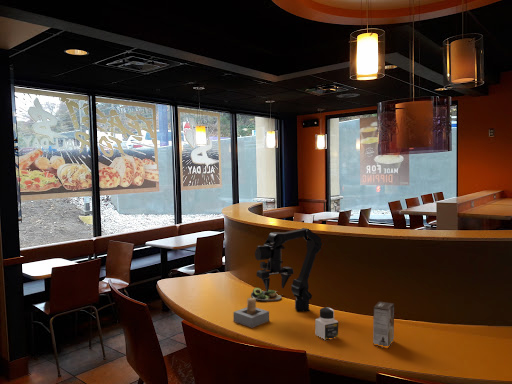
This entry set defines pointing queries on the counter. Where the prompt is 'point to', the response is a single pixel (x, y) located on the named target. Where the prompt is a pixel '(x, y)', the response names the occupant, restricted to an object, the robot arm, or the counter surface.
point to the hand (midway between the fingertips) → (275, 289)
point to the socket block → (251, 317)
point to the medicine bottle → (326, 324)
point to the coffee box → (383, 323)
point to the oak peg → (251, 306)
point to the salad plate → (264, 295)
